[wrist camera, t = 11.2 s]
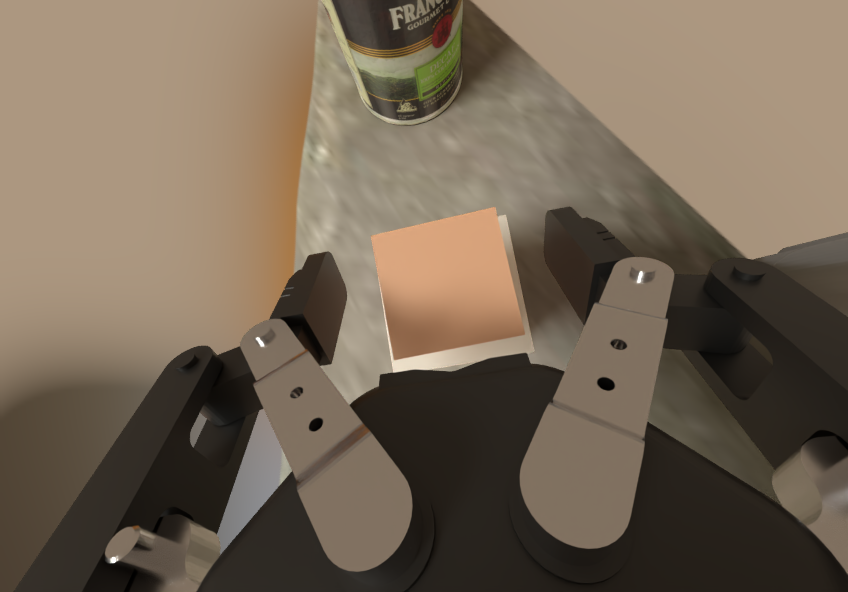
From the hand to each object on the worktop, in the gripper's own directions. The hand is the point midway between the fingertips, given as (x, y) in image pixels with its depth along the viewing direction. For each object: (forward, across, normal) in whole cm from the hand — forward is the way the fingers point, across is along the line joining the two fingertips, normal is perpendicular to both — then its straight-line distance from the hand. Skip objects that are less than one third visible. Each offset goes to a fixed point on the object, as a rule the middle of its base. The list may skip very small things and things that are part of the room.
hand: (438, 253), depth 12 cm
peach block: (+4, 0, +6) cm, 7 cm away
